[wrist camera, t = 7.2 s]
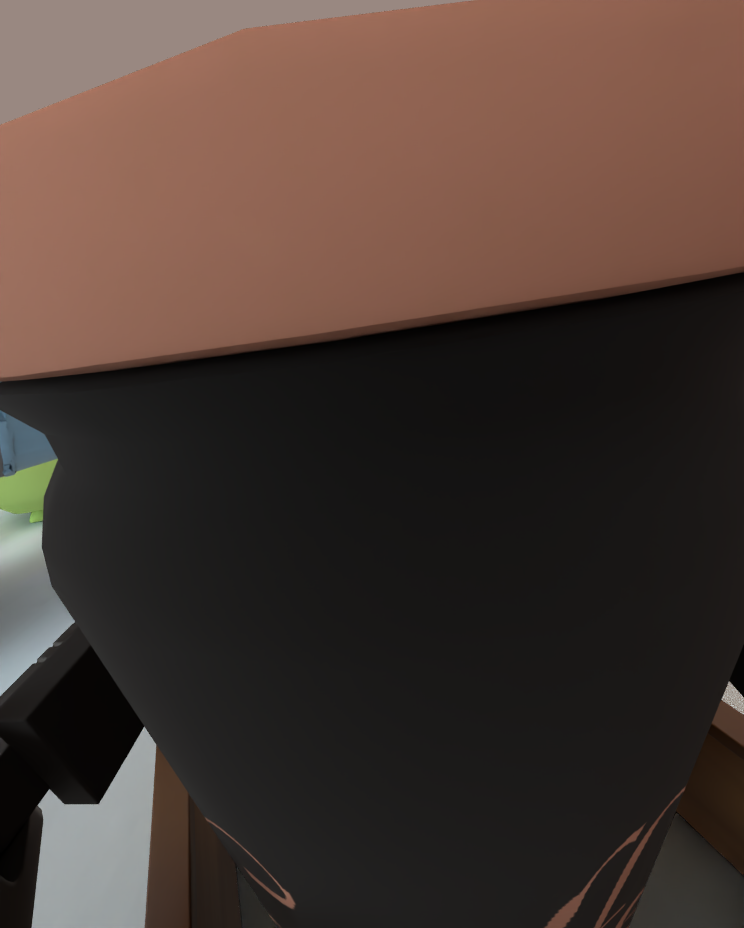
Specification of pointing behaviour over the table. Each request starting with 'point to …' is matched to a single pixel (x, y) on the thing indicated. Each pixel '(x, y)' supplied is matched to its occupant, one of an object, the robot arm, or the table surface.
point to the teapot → (26, 490)
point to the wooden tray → (214, 872)
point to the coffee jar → (402, 437)
